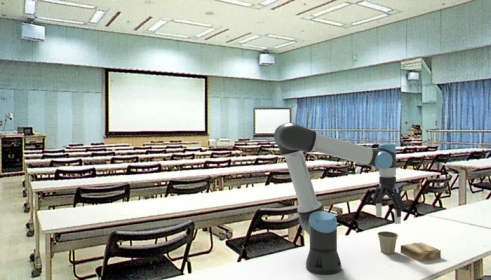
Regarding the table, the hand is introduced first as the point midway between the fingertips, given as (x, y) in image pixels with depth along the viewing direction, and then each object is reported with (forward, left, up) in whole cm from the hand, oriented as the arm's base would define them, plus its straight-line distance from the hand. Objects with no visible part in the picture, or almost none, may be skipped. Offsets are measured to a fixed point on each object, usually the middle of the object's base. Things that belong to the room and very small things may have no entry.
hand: (388, 220), depth 182 cm
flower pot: (0, 0, -16) cm, 16 cm away
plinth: (+11, -9, -16) cm, 21 cm away
